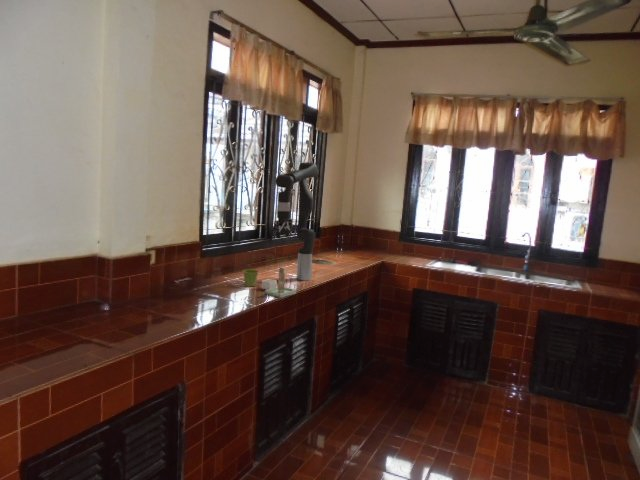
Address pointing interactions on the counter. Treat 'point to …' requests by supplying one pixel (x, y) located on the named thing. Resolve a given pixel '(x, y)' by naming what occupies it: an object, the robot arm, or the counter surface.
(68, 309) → the counter surface
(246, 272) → the plant pot
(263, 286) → the white open box
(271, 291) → the tray
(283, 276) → the dowel
